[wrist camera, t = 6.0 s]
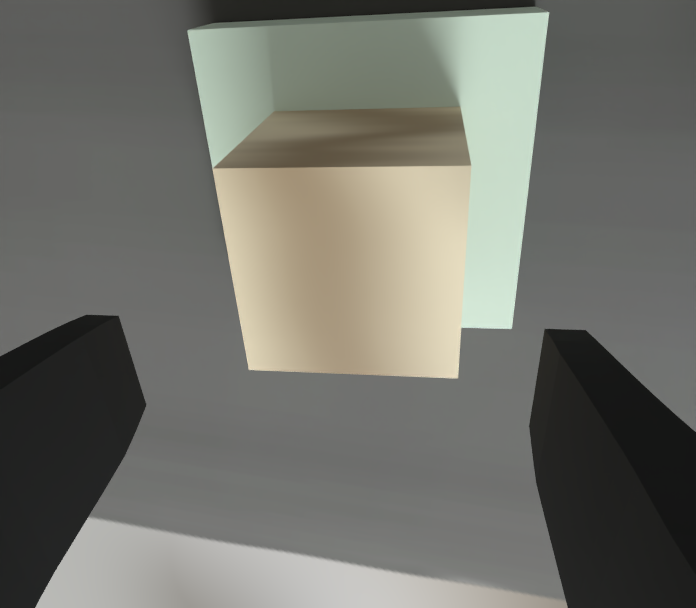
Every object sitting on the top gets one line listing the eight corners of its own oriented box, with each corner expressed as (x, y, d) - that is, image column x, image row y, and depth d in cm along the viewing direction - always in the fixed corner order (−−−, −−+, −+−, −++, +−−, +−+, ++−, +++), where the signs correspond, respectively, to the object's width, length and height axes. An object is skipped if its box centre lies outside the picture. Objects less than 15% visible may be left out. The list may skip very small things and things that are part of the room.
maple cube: (460, 106, 14) (471, 165, 10) (451, 275, 17) (457, 378, 13) (274, 111, 15) (212, 168, 11) (292, 273, 18) (249, 370, 14)
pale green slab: (535, 6, 15) (548, 12, 13) (504, 297, 19) (511, 329, 18) (213, 23, 16) (187, 30, 14) (256, 292, 21) (240, 321, 19)
